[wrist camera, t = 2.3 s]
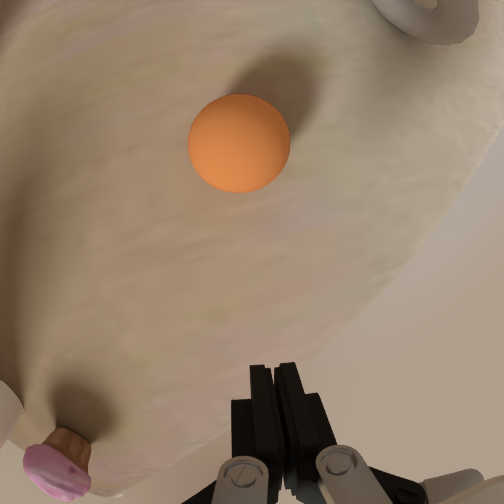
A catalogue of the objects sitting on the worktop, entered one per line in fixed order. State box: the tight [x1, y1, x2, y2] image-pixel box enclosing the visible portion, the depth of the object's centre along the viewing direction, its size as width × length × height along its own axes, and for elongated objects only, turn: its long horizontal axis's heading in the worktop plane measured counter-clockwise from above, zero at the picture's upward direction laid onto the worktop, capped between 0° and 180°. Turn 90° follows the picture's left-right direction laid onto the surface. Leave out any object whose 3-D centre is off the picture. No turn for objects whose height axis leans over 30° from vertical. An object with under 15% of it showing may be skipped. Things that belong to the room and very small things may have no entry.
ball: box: [188, 94, 290, 193], centre depth 16 cm, size 6×6×6 cm
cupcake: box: [23, 428, 91, 502], centre depth 21 cm, size 9×9×10 cm
